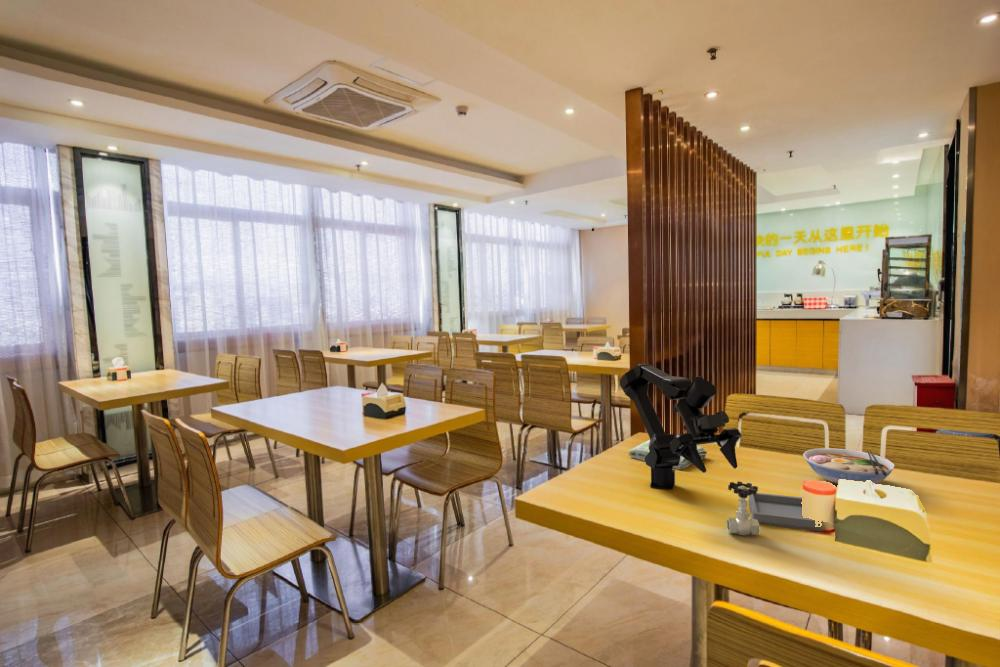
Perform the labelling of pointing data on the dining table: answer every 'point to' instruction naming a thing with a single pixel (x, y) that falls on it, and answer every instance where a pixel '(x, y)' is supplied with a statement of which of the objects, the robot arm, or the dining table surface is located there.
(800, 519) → the parts tray
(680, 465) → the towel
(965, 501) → the dining table surface
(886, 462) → the ramen bowl
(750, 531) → the valve
